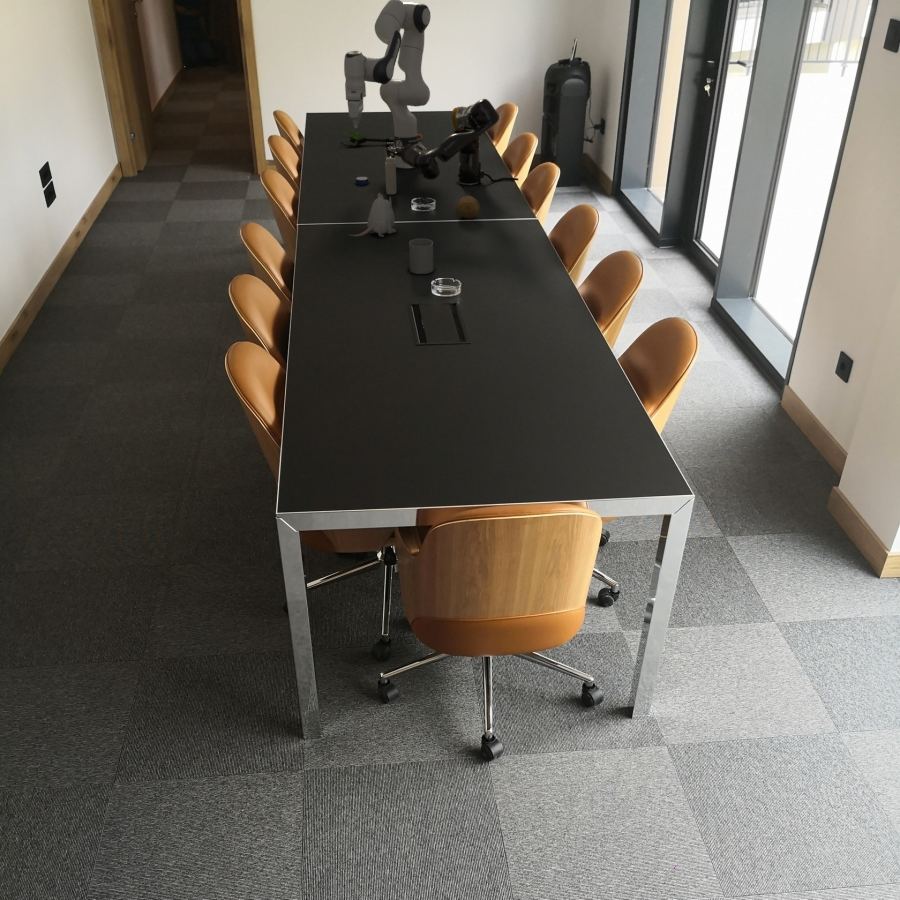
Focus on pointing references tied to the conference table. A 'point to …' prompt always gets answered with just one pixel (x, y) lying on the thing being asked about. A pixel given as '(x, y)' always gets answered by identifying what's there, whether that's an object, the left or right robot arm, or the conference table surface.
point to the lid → (362, 180)
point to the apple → (455, 118)
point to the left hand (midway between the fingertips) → (357, 125)
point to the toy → (380, 217)
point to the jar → (390, 175)
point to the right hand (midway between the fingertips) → (398, 147)
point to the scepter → (363, 139)
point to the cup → (421, 256)
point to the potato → (467, 207)
